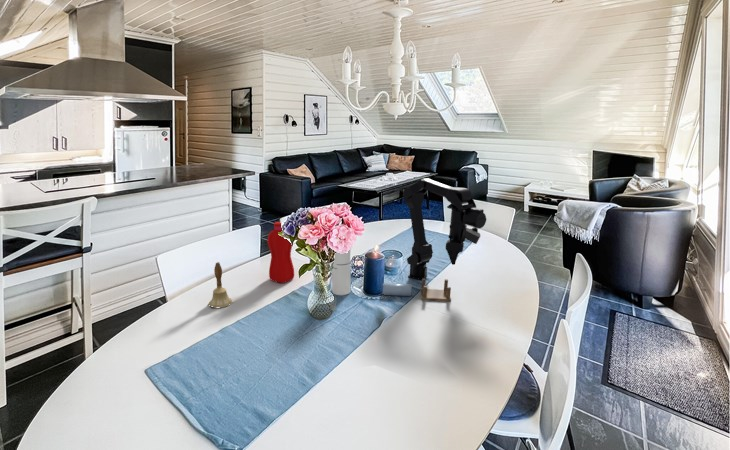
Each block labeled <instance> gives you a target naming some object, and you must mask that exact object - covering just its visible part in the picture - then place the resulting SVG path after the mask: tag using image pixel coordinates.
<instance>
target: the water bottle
mask: <svg viewBox="0 0 730 450" xmlns="http://www.w3.org/2000/svg"><path fill="white" fill-rule="evenodd" d="M280 222H281V221H275V222H274V223H273V228H274V229H273V230H271V231H269V233H268V235H267V241H266V242H267V246H268V249H269V251H270V256H271V258H270V263H269V271H268V276H269V280H271V281H273V282H276V283H279V284H285V283H288V282H289V281H291V280H293V279H294V277H295V268H294V264H293V260H292V256H291V255H292V253H291V252H292V248H293V244H292V245H291V243H290V242H289V241H288V240H287V239H284V238H283V237H281V236H279V235H278V232H281V231H282V228H281V223H280Z"/></svg>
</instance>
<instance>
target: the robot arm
mask: <svg viewBox="0 0 730 450" xmlns="http://www.w3.org/2000/svg"><path fill="white" fill-rule="evenodd" d="M428 191H429V192H430V193H432V194H433V193H434V194H436V195H438V196H441V197H444V198H445V199H446V201H448V202H449V203H450V204H449V205H447V207H446V208H447V209H451V214H450V223H449V226H448V227H449V234H448V240H447V241H446V242H445V250H446V253H447V255H448V258H449V260H450V264H451V265H453V266H455V265H456V262H457V259H458V256H459V254H460V253H462V252H463V251H464V247H465V245H464V244H465V243H464V242H465V241H467V240H468V241H469V242H471V243H473V244H475V245H477V244H478V242H479V240H480V238H481V233H480V232H479V229H482V228H484V226H485V225H486V222H487V216H486V214H485V213H484V211H485V210H484V209H483V208H477V205H476V203H475V200H474V198H473V195H472V193H471V190H470V189H469V188H466V187H457V186H454V187H453V186H450V185H447V184H444V183H441V182H439V181H436V180H433V179H431V178H428V177H427V178H421V179H419V180H418V181H417V182H415V183H413V184H412V185H410V186H408V187H406V188H404V190H403V191H402V197H403V200H404V204H406V206H407V207H408V209H409V214H410V220H411V221H410V222H411V228H412V229H411V230H412V235H413V244H412V247H411V255H409V257H407V258H406V262H407V265H409V274H408V276H407V277H408V278H410V279H415V280H420V281H422V278H423V279H426V277H427V276H428V266H427V263H429V264H430V261H431V260H432V258H433V254H434V252H433V245H432V243H429V242H428V241H427V238H426V232H425V230H426V229H425V223H424V217H423V211H422V210H423V209H422V206H423V203H424V200H425V196H424V195H426V194H427V193H428ZM467 226H470V227H472V228H469V227H467Z"/></svg>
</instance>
